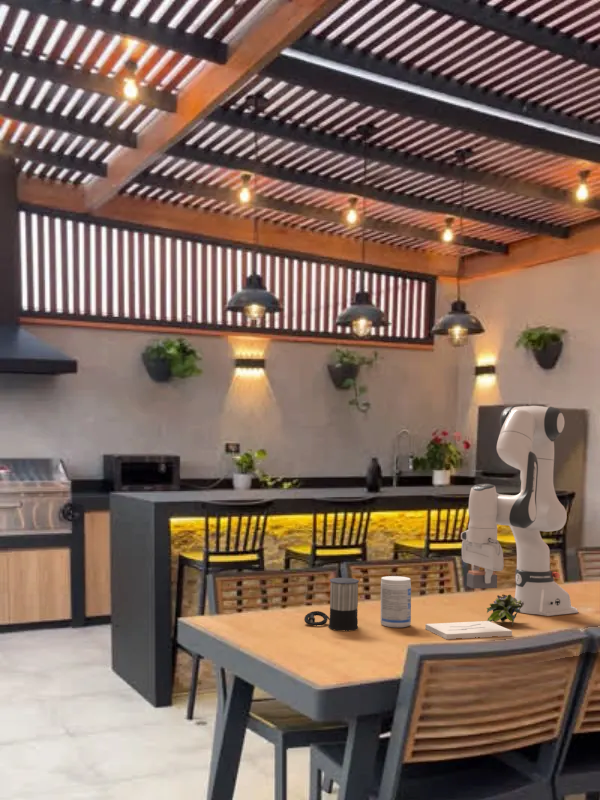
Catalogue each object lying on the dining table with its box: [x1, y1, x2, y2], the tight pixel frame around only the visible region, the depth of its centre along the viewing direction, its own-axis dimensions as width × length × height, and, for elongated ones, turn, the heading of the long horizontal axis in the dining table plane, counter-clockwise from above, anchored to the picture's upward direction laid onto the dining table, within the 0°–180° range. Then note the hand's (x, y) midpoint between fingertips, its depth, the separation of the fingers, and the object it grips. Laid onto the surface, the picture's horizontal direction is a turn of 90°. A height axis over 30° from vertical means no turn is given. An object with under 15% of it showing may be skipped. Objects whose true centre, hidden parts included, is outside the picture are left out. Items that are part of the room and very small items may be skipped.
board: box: [424, 620, 513, 640], centre depth 257 cm, size 22×14×2 cm, turn 107°
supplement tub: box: [380, 575, 412, 628], centre depth 265 cm, size 10×10×15 cm
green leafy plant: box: [486, 593, 524, 627], centre depth 270 cm, size 11×11×12 cm
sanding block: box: [466, 569, 498, 590], centre depth 260 cm, size 8×4×5 cm, turn 104°
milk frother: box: [303, 577, 359, 632], centre depth 261 cm, size 14×16×15 cm
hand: (482, 581), depth 260 cm, fingers closed on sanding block, 5 cm apart
